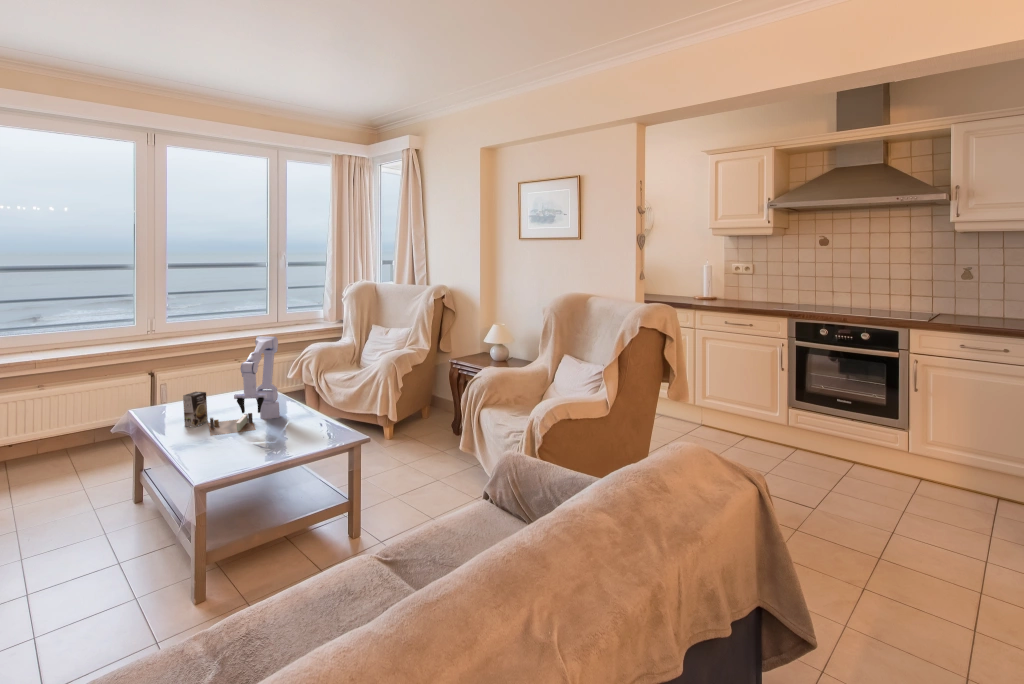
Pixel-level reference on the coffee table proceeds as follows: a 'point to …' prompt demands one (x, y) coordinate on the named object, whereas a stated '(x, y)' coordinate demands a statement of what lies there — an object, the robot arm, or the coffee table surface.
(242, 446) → the coffee table surface
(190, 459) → the coffee table surface
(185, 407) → the coffee box
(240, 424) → the gate
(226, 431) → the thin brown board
